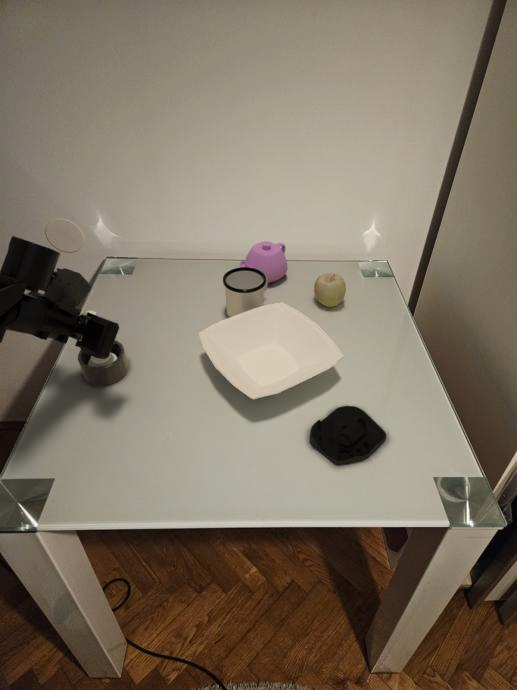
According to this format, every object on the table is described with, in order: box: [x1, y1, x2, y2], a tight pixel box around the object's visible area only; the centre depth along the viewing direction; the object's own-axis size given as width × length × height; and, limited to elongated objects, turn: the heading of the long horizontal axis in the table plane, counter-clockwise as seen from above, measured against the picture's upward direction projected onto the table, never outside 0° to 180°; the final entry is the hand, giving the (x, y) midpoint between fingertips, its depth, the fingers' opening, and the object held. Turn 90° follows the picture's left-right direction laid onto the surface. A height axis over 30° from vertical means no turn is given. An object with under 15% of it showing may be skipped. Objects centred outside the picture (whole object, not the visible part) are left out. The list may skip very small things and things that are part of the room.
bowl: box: [198, 301, 344, 400], centre depth 85 cm, size 22×23×6 cm
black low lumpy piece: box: [309, 405, 387, 466], centre depth 72 cm, size 12×10×5 cm
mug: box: [222, 266, 268, 318], centre depth 97 cm, size 12×10×9 cm
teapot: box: [239, 241, 288, 286], centre depth 107 cm, size 10×15×9 cm
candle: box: [80, 309, 117, 367], centre depth 79 cm, size 5×5×12 cm
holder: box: [77, 339, 129, 387], centre depth 83 cm, size 8×8×4 cm
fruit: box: [313, 273, 347, 308], centre depth 100 cm, size 8×7×8 cm
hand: (100, 331), depth 80 cm, fingers closed on candle, 2 cm apart
